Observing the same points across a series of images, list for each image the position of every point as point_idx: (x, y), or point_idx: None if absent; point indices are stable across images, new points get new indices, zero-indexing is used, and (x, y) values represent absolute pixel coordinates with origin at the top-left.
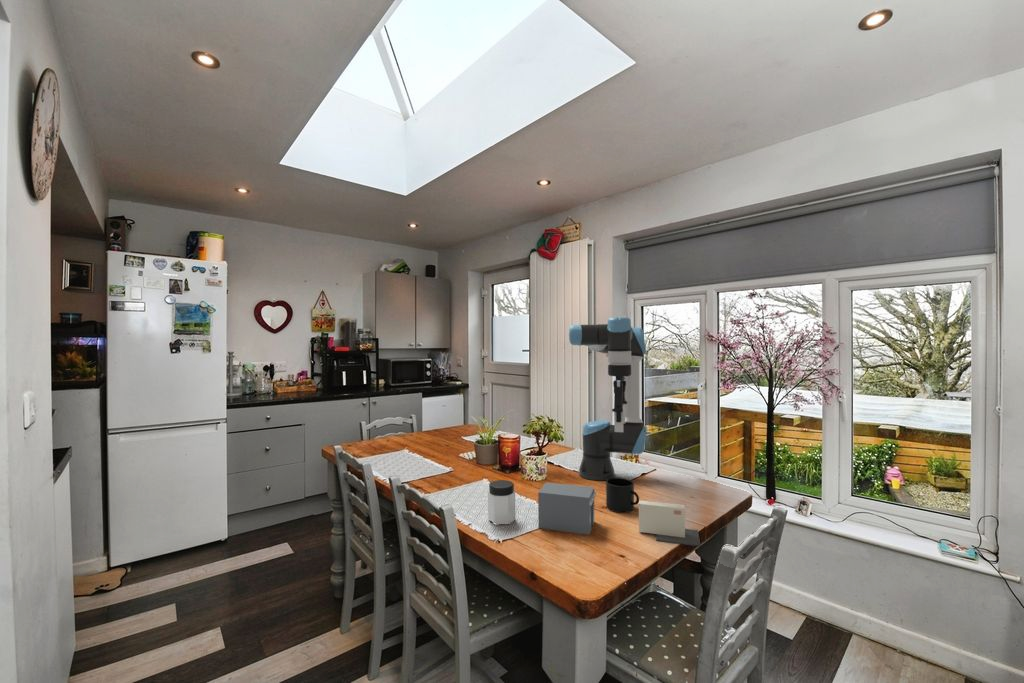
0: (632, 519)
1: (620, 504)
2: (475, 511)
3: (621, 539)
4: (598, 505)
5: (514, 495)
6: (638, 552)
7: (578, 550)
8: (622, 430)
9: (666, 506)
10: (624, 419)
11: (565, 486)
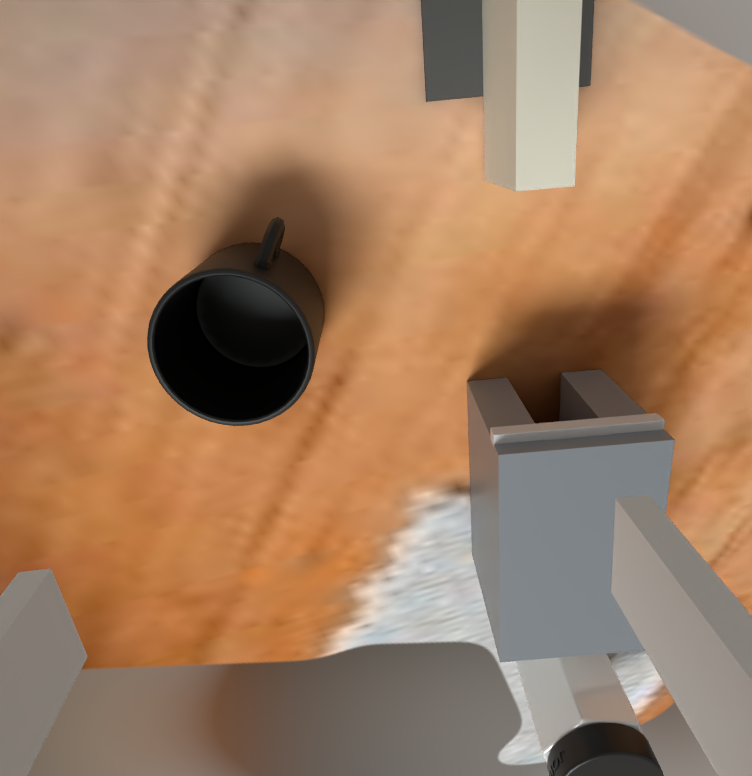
0: (378, 229)
1: (319, 306)
2: (515, 746)
3: (610, 241)
4: None
5: (586, 708)
6: (718, 151)
7: (741, 375)
8: (659, 518)
9: (577, 4)
10: (22, 621)
11: (533, 577)
